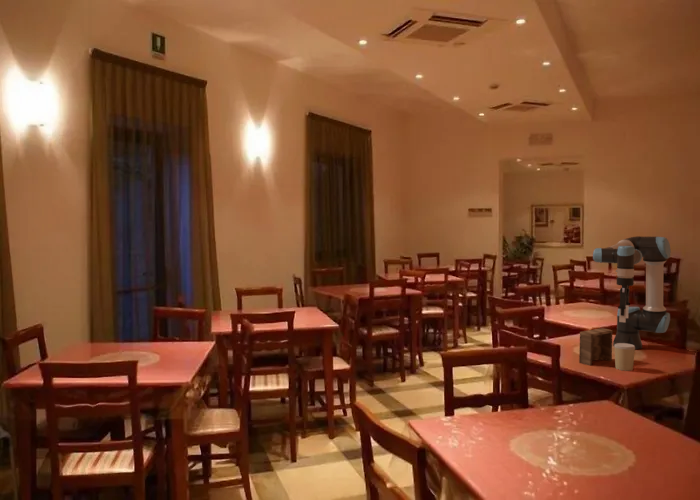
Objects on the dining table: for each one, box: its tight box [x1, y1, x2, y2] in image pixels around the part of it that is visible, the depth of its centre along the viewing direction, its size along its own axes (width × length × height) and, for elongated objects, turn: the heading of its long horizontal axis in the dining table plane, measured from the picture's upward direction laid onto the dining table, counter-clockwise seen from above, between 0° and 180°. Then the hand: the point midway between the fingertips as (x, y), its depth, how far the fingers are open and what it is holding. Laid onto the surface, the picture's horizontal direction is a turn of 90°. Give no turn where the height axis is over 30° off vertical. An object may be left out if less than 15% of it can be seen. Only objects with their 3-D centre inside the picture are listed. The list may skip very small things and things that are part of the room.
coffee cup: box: [613, 343, 636, 372], centre depth 276 cm, size 9×9×12 cm
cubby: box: [578, 327, 613, 366], centre depth 289 cm, size 18×6×16 cm, turn 121°
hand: (623, 320), depth 274 cm, fingers open, 13 cm apart
